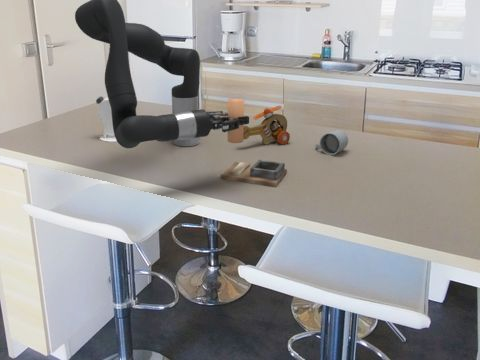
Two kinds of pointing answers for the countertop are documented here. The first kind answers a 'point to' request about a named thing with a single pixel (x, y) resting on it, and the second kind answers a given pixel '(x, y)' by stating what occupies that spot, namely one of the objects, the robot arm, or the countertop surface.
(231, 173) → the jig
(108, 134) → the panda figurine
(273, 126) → the toy helicopter
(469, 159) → the countertop surface
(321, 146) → the ceramic mug
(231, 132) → the cylinder
